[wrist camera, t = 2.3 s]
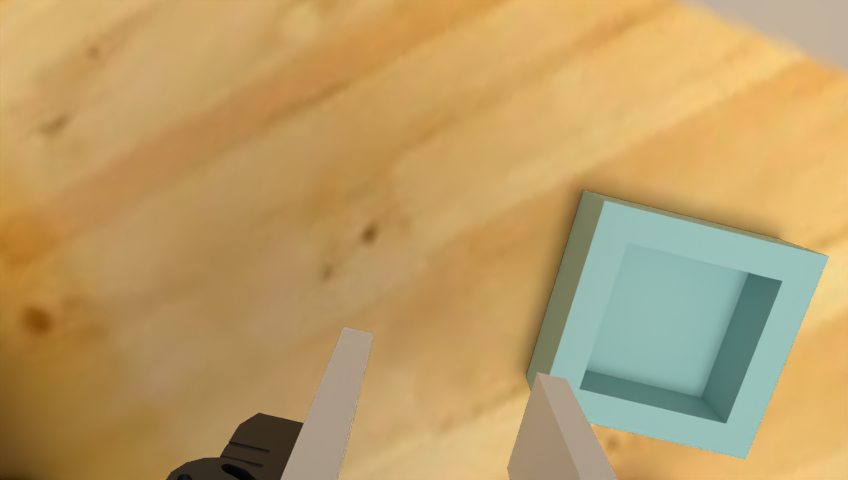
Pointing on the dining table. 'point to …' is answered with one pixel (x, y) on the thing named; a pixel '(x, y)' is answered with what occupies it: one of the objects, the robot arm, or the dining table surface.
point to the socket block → (673, 322)
